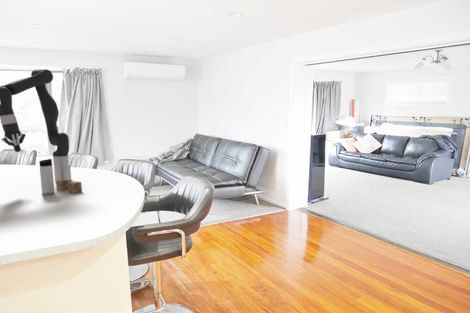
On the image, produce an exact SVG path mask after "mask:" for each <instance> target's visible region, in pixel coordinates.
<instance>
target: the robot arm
mask: <svg viewBox="0 0 470 313" xmlns="http://www.w3.org/2000/svg"><path fill="white" fill-rule="evenodd" d="M53 74H54V73H52V71H51V70H49V69H47V68H40V69H39V68H37V69H33V70H32V71H31V75H30V76H29V77H24V78H20V79H16V80H13V81H12V82H9V83H7V84H3V85H1V86H0V124H1V126H2V129H3V132H4V137H3V138H1V139H0V140H1V142H4V143H5V144H7V145H8V146H10V147H13V150H14V151H15V152H16V153H19V152H21V146H20V145H21V144H23V142H24V139H25V138H26V134H25V133H22V132H21V131H20V128H19V127H20V126H19V123H18V120H17V117H16V115H15V113H14V109H13V96H15V95H18V94H21V93H23V92H25V91H27V90H30V89H33V88H35V91H36V95H37V96H38V100H39V103H40V106H41V110H42V114H43V115H42V116H43V118H44V122H45V125H46V129H47V138H48V141H49V143H50V145H52V146H54V147H56V150H55V151H53V153H52V163H53V170H54V171H53V176H54V182H56V181H58V180H63V179H65V180H69V181H70V180H72V172H71V166H70V164H69V163H70V162H69V152H70V139H69V136H68V134H67V133H66V132H59V130H58V126H57V125H58V119H59V116H60V115H59V114H60V112H59V109H58V103H57V101H56V100H55V99H54V98H53V96H52V95H51V94H50V92H49V91H48V89H47V86H46V85H47V84H50V83H52V81H53V80H54V75H53Z"/></svg>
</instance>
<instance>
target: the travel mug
mask: <svg viewBox="0 0 470 313" xmlns="http://www.w3.org/2000/svg"><path fill="white" fill-rule="evenodd" d="M53 170H54V167H53V158H48V159H41V160H40V161H39V174H40V186H41V195H42V196H51V195H54V194H55V183H54V182H55V179H54V171H53Z"/></svg>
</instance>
